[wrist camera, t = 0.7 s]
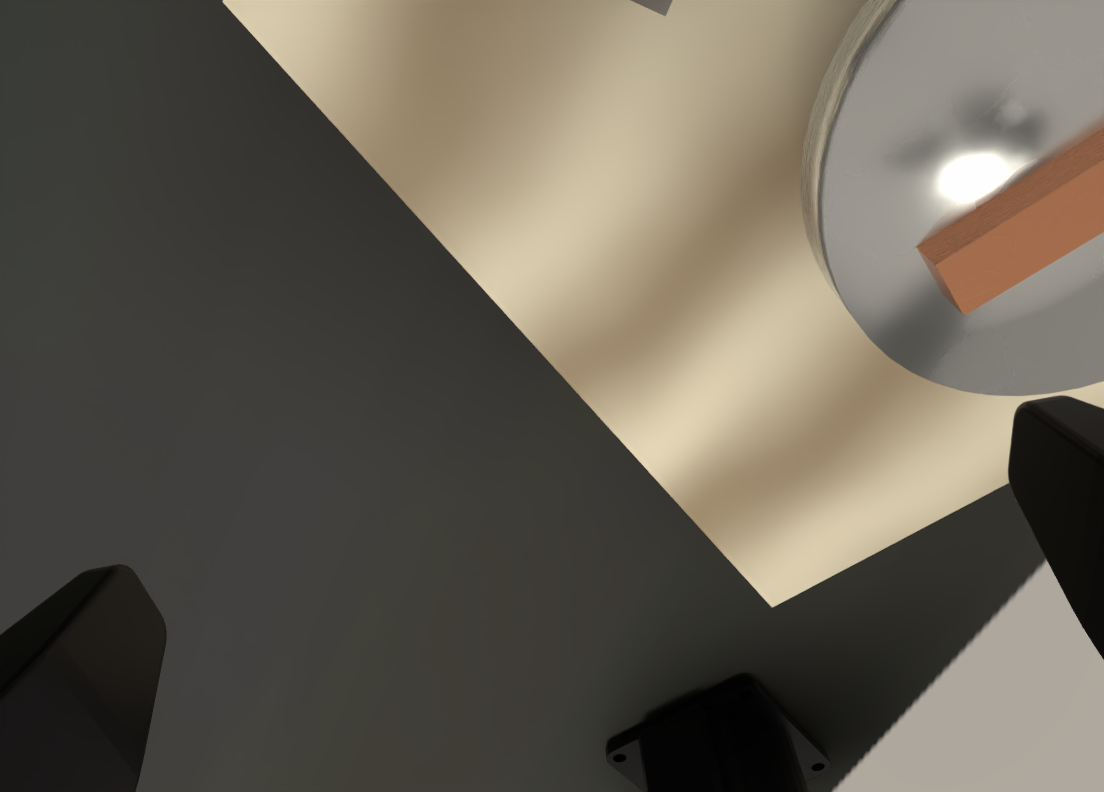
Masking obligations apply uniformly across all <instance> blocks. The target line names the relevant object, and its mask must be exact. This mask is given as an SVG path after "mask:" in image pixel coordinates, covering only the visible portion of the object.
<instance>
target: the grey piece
mask: <svg viewBox="0 0 1104 792" xmlns="http://www.w3.org/2000/svg"><path fill="white" fill-rule="evenodd" d="M800 183H801V206H802V213H803V218H804V224H805V229H806V234H807V238H808V241H809V244H810V247H811V250H812V252H813V255H814V258H815V261H816V263H817V265H818V267H819V269H820V271H821V272H822V274H823V276H824V278H825V280H826V282H827V283H828V285H829V287H830V288H831V289H832V290H833V292H834V293H835V294H836V296H837V297H838V298H839V300H840V301H841V302H842V304H843V305H844V306H845V308H846V309H847V310H848V312H849V313H850V314H851V316H852V317H853V318H854V320H855V321H856V322H857V324H858V325H859V326H860V327H861V329H862V330H863V331H864V333H865V334H866V335H867V336H868V338H869V339H870V340H871V341H872V342H873V343H874V344H875V345H876V346H877V347H878V348H879V349H880V350H882V351H883V352H884V353H885V354H886V355H887V356H888V357H889V358H890V359H892V360H893V361H895V362H896V363H898V364H900V365H901V366H903V367H904V368H906V369H907V370H909V371H910V372H912V373H914V374H916V375H918V376H920V377H923V378H925V379H927V380H929V381H931V382H934V383H936V384H939V385H943V386H946V387H949V388H953V389H956V390H960V391H964V392H971V393H977V394H984V395H994V396H1028V395H1041V394H1051V393H1056V392H1061V391H1067V390H1072V389H1078V388H1082V387H1085V386H1089V385H1092V384H1096V383H1099V382H1103V381H1104V0H867V1H866V3H865V4H864V5H863V7H862V8H861V9H860V11H859V12H858V14H857V16H856V17H855V19H854V20H853V22H852V24H851V25H850V27H849V28H848V30H847V32H846V33H845V35H844V37H843V38H842V40H841V41H840V43H839V45H838V47H837V49H836V51H835V53H834V55H833V57H832V59H831V62H830V64H829V66H828V68H827V70H826V72H825V74H824V76H823V78H822V81H821V84H820V87H819V90H818V93H817V96H816V98H815V101H814V104H813V107H812V110H811V113H810V117H809V122H808V127H807V131H806V136H805V140H804V145H803V154H802V165H801V176H800Z"/></svg>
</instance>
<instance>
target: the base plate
mask: <svg viewBox="0 0 1104 792" xmlns="http://www.w3.org/2000/svg"><path fill="white" fill-rule="evenodd" d="M866 1H867V0H224V1H223V3H224V4H225V5H226V6H227V7H228V8H229V10H230V11H231V12H232V13H233V14H234V15H235V16H236V17H237V18H238V19H239V21H240V22H241V23H242V24H243V25H244V26H245V27H246V28H247V29H248V30H249V32H250V33H251V34H252V35H253V36H254V37H255V38H256V39H257V40H258V41H259V43H260V44H261V45H262V46H263V47H264V48H265V49H266V50H267V51H268V52H269V54H270V55H271V56H272V57H273V58H274V59H275V60H276V61H277V62H278V64H279V65H280V66H281V67H282V68H283V69H284V70H285V71H286V72H287V73H288V75H289V76H290V77H291V78H292V79H293V80H294V81H295V82H296V83H297V84H298V86H299V87H300V88H301V89H302V90H303V91H304V92H305V93H306V94H307V95H308V97H309V98H310V99H311V100H312V101H313V102H314V103H315V104H316V105H317V107H318V108H319V109H320V110H321V111H322V112H323V113H324V114H325V115H326V116H327V118H328V119H329V120H330V121H331V122H332V123H333V124H334V125H335V126H336V127H337V129H338V130H339V131H340V132H341V133H342V134H343V135H344V136H345V137H346V138H347V140H348V141H349V142H350V143H351V144H352V145H353V146H354V147H355V148H356V150H357V151H358V152H359V153H360V154H361V155H362V156H363V157H364V158H365V159H366V161H367V162H368V163H369V164H370V165H371V166H372V167H373V168H374V169H375V170H376V172H377V173H378V174H379V175H380V176H381V177H382V178H383V179H384V180H385V181H386V183H387V184H388V185H389V186H390V187H391V188H392V189H393V190H394V191H395V192H396V194H397V195H398V196H399V197H400V198H401V199H402V200H403V201H404V202H405V204H406V205H407V206H408V207H409V208H410V209H411V210H412V211H413V212H414V213H415V215H416V216H417V217H418V218H419V219H420V220H421V221H422V222H423V223H424V224H425V226H426V227H427V228H428V229H429V230H430V231H431V232H432V233H433V234H434V235H435V237H436V238H437V239H438V240H439V241H440V242H441V243H442V244H443V245H444V247H445V248H446V249H447V250H448V251H449V252H450V253H451V254H452V255H453V256H454V258H455V259H456V260H457V261H458V262H459V263H460V264H461V265H462V266H463V267H464V269H465V270H466V271H467V272H468V273H469V274H470V275H471V276H472V277H473V278H474V280H475V281H476V282H477V283H478V284H479V285H480V286H481V287H482V288H483V290H484V291H485V292H486V293H487V294H488V295H489V296H490V297H491V298H492V299H493V301H494V302H495V303H496V304H497V305H498V306H499V307H500V308H501V309H502V310H503V312H504V313H505V314H506V315H507V316H508V317H509V318H510V319H511V320H512V321H513V323H514V324H515V325H516V326H517V327H518V328H519V329H520V330H521V331H522V332H523V334H524V335H525V336H526V337H527V338H528V339H529V340H530V341H531V342H532V344H533V345H534V346H535V347H536V348H537V349H538V350H539V351H540V352H541V353H542V355H543V356H544V357H545V358H546V359H547V360H548V361H549V362H550V363H551V364H552V366H553V367H554V368H555V369H556V370H557V371H558V372H559V373H560V374H561V375H562V377H563V378H564V379H565V380H566V381H567V382H568V383H569V384H570V385H571V387H572V388H573V389H574V390H575V391H576V392H577V393H578V394H579V395H580V396H581V398H582V399H583V400H584V401H585V402H586V403H587V404H588V405H589V406H590V407H591V409H592V410H593V411H594V412H595V413H596V414H597V415H598V416H599V417H600V418H601V420H602V421H603V422H604V423H605V424H606V425H607V426H608V427H609V428H610V430H611V431H612V432H613V433H614V434H615V435H616V436H617V437H618V438H619V439H620V441H621V442H622V443H623V444H624V445H625V446H626V447H627V448H628V449H629V450H630V452H631V453H632V454H633V455H634V456H635V457H636V458H637V459H638V460H639V461H640V463H641V464H642V465H643V466H644V467H645V468H646V469H647V470H648V471H649V473H650V474H651V475H652V476H653V477H654V478H655V479H656V480H657V481H658V482H659V484H660V485H661V486H662V487H663V488H664V489H665V490H666V491H667V492H668V493H669V495H670V496H671V497H672V498H673V499H674V500H675V501H676V502H677V503H678V504H679V506H680V507H681V508H682V509H683V510H684V511H685V512H686V513H687V514H688V515H689V517H690V518H691V519H692V520H693V521H694V522H695V523H696V524H697V525H698V527H699V528H700V529H701V530H702V531H703V532H704V533H705V534H706V535H707V536H708V538H709V539H710V540H711V541H712V542H713V543H714V544H715V545H716V546H717V547H718V549H719V550H720V551H721V552H722V553H723V554H724V555H725V556H726V557H727V558H728V560H729V561H730V562H731V563H732V564H733V565H734V566H735V567H736V568H737V570H738V571H739V572H740V573H741V574H742V575H743V576H744V577H745V578H746V579H747V581H748V582H749V583H750V584H751V585H752V586H753V587H754V588H755V589H756V590H757V592H758V593H759V594H760V595H761V596H762V597H763V598H764V599H765V600H766V601H767V603H768V604H769V605H770V606H771V607H774V606H776V605H778V604H780V603H782V602H784V601H786V600H788V599H789V598H791V597H793V596H795V595H797V594H799V593H801V592H803V591H805V590H807V589H808V588H810V587H812V586H814V585H816V584H818V583H820V582H822V581H824V580H825V579H827V578H829V577H831V576H833V575H835V574H837V573H839V572H841V571H843V570H844V569H846V568H848V567H850V566H852V565H854V564H856V563H858V562H860V561H862V560H863V559H865V558H867V557H869V556H871V555H873V554H875V553H877V552H879V551H880V550H882V549H884V548H886V547H888V546H890V545H892V544H894V543H896V542H898V541H899V540H901V539H903V538H905V537H907V536H909V535H911V534H913V533H915V532H916V531H918V530H920V529H922V528H924V527H926V526H928V525H930V524H932V523H934V522H935V521H937V520H939V519H941V518H943V517H945V516H947V515H949V514H951V513H952V512H954V511H956V510H958V509H960V508H962V507H964V506H966V505H968V504H970V503H971V502H973V501H975V500H977V499H979V498H981V497H983V496H985V495H987V494H988V493H990V492H992V491H994V490H996V489H998V488H1000V487H1002V486H1004V485H1006V484H1007V483H1009V480H1008V462H1009V453H1010V444H1011V435H1012V427H1013V418H1014V414H1015V411H1016V409H1017V407H1018V406H1019V405H1020V404H1022V403H1023V402H1025V401H1030V400H1036V399H1041V398H1047V397H1052V396H1058V395H1065V396H1070V397H1073V398H1076V399H1078V400H1081V401H1084V402H1087V403H1090V404H1093V405H1095V406H1098V407H1101V408H1104V381H1103V382H1099V383H1096V384H1092V385H1089V386H1085V387H1082V388H1078V389H1072V390H1067V391H1061V392H1056V393H1051V394H1041V395H1028V396H994V395H984V394H977V393H971V392H964V391H960V390H956V389H953V388H949V387H946V386H943V385H939V384H936V383H934V382H931V381H929V380H927V379H925V378H923V377H920V376H918V375H916V374H914V373H912V372H910V371H909V370H907V369H906V368H904V367H903V366H901V365H900V364H898V363H896V362H895V361H893V360H892V359H890V358H889V357H888V356H887V355H886V354H885V353H884V352H883V351H882V350H880V349H879V348H878V347H877V346H876V345H875V344H874V343H873V342H872V341H871V340H870V339H869V338H868V336H867V335H866V334H865V333H864V331H863V330H862V329H861V327H860V326H859V325H858V324H857V322H856V321H855V320H854V318H853V317H852V316H851V314H850V313H849V312H848V310H847V309H846V308H845V306H844V305H843V304H842V302H841V301H840V300H839V298H838V297H837V296H836V294H835V293H834V292H833V290H832V289H831V288H830V287H829V285H828V283H827V282H826V280H825V278H824V276H823V274H822V272H821V271H820V269H819V267H818V265H817V263H816V261H815V258H814V255H813V252H812V250H811V247H810V244H809V241H808V238H807V234H806V229H805V224H804V218H803V213H802V206H801V183H800V176H801V165H802V154H803V145H804V140H805V136H806V131H807V127H808V122H809V117H810V113H811V110H812V107H813V104H814V101H815V98H816V96H817V93H818V90H819V87H820V84H821V81H822V78H823V76H824V74H825V72H826V70H827V68H828V66H829V64H830V62H831V59H832V57H833V55H834V53H835V51H836V49H837V47H838V45H839V43H840V41H841V40H842V38H843V37H844V35H845V33H846V32H847V30H848V28H849V27H850V25H851V24H852V22H853V20H854V19H855V17H856V16H857V14H858V12H859V11H860V9H861V8H862V7H863V5H864V4H865V3H866Z"/></svg>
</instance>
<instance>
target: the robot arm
mask: <svg viewBox="0 0 1104 792" xmlns="http://www.w3.org/2000/svg"><path fill="white" fill-rule="evenodd" d="M1008 480H1009V484H1010V488H1011V491H1012V493H1013V495H1014V498H1015V500H1016V501H1017V503H1018V505H1019V507H1020V509H1021V511H1022V513H1023V515H1024V517H1025V519H1026V521H1027V523H1028V525H1029V526H1030V528H1031V530H1032V532H1033V534H1034V536H1035V538H1036V540H1037V542H1038V544H1039V546H1040V548H1041V550H1042V551H1043V553H1044V555H1045V557H1046V559H1047V561H1048V563H1049V565H1050V567H1051V569H1052V571H1053V573H1054V575H1055V576H1056V578H1057V580H1058V582H1059V584H1060V586H1061V588H1062V590H1063V592H1064V594H1065V595H1066V598H1067V599H1068V601H1069V603H1070V605H1071V607H1072V609H1073V611H1074V612H1075V614H1076V616H1077V618H1078V620H1079V621H1080V623H1081V625H1082V627H1083V628H1084V630H1085V632H1086V633H1087V635H1088V636H1089V638H1090V639H1091V641H1092V642H1093V644H1094V646H1095V647H1096V649H1097V650H1098V652H1099V653H1100V655H1101V656H1102V658H1103V659H1104V408H1101V407H1098V406H1095V405H1093V404H1090V403H1087V402H1084V401H1081V400H1078V399H1076V398H1073V397H1070V396H1065V395H1058V396H1052V397H1047V398H1041V399H1036V400H1030V401H1025V402H1023V403H1022V404H1020V405H1019V406H1018V407H1017V409H1016V411H1015V414H1014V418H1013V427H1012V435H1011V444H1010V453H1009V462H1008ZM165 645H166V626H165V622H164V619H163V617H162V615H161V613H160V612H159V610H158V608H157V607H156V605H155V604H154V602H153V600H152V599H151V597H150V596H149V594H148V592H147V591H146V589H145V588H144V586H143V584H142V583H141V581H140V580H139V578H138V576H137V575H136V573H135V572H134V571H133V570H132V569H131V568H129V567H128V566H126V565H120V564H118V565H112V566H107V567H101V568H95V569H90V570H87V571H85V572H82V573H81V574H79V575H78V576H77V577H75V578H74V579H73V580H71V581H70V582H69V583H67V584H66V585H65V586H63V587H62V588H61V589H60V590H58V591H57V592H56V593H54V594H53V595H52V596H50V597H49V598H48V599H46V600H45V601H44V602H43V603H41V604H40V605H39V606H37V607H36V608H35V609H33V610H32V611H31V612H29V613H28V614H27V615H26V616H24V617H23V618H22V619H20V620H19V621H18V622H16V623H15V624H14V625H13V626H11V627H10V628H9V629H7V630H6V631H5V632H3V633H2V634H1V635H0V792H135V791H136V788H137V784H138V780H139V776H140V771H141V767H142V763H143V758H144V754H145V749H146V743H147V738H148V733H149V728H150V723H151V718H152V712H153V707H154V702H155V697H156V692H157V687H158V681H159V676H160V671H161V666H162V661H163V656H164V650H165ZM606 758H607V762H608V763H609V764H610V765H611V766H613V767H614V768H615V769H616V770H618V771H619V772H620V773H621V774H623V775H624V776H625V777H626V778H628V779H629V780H630V781H631V782H633V783H634V784H635V785H636V786H638V787H639V788H640V789H641V790H643V791H644V792H809V791H808V788H807V785H806V782H805V781H808V780H810V779H812V778H814V777H816V776H819V775H821V774H823V773H825V772H827V771H828V770H829V769H830V768H831V763H830V760H829V757H828V755H827V753H826V752H825V751H824V750H823V749H822V748H821V747H820V746H819V745H818V744H817V743H816V742H815V741H814V740H813V739H812V738H811V737H810V736H809V735H808V734H807V733H806V732H805V731H804V730H803V729H802V728H801V727H800V726H799V725H798V724H797V723H796V722H795V721H794V719H793V718H792V717H791V716H790V715H789V714H788V713H787V712H786V711H785V710H784V709H783V708H782V707H781V706H780V705H779V704H778V703H777V702H776V701H775V700H774V699H773V698H772V697H771V696H770V695H769V694H768V693H767V692H766V691H765V690H764V689H763V688H762V687H761V686H760V685H759V684H758V683H757V682H756V681H755V680H753V679H752V678H747V677H743V678H738V679H736V680H734V681H732V682H730V683H728V684H726V685H724V686H722V687H720V688H718V689H716V690H714V691H712V692H710V693H708V694H706V695H704V696H702V697H700V698H698V699H696V700H694V701H692V702H690V703H688V704H686V705H684V706H682V707H680V708H678V709H676V710H674V711H672V712H670V713H668V714H666V715H664V716H662V717H660V718H658V719H656V720H655V721H653V722H651V723H649V724H647V725H645V726H643V727H641V728H639V729H637V730H635V731H633V732H631V733H629V734H627V735H625V736H623V737H621V738H619V739H617V740H615V741H613V742H611V743H610V744H608V745H607V747H606Z"/></svg>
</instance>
